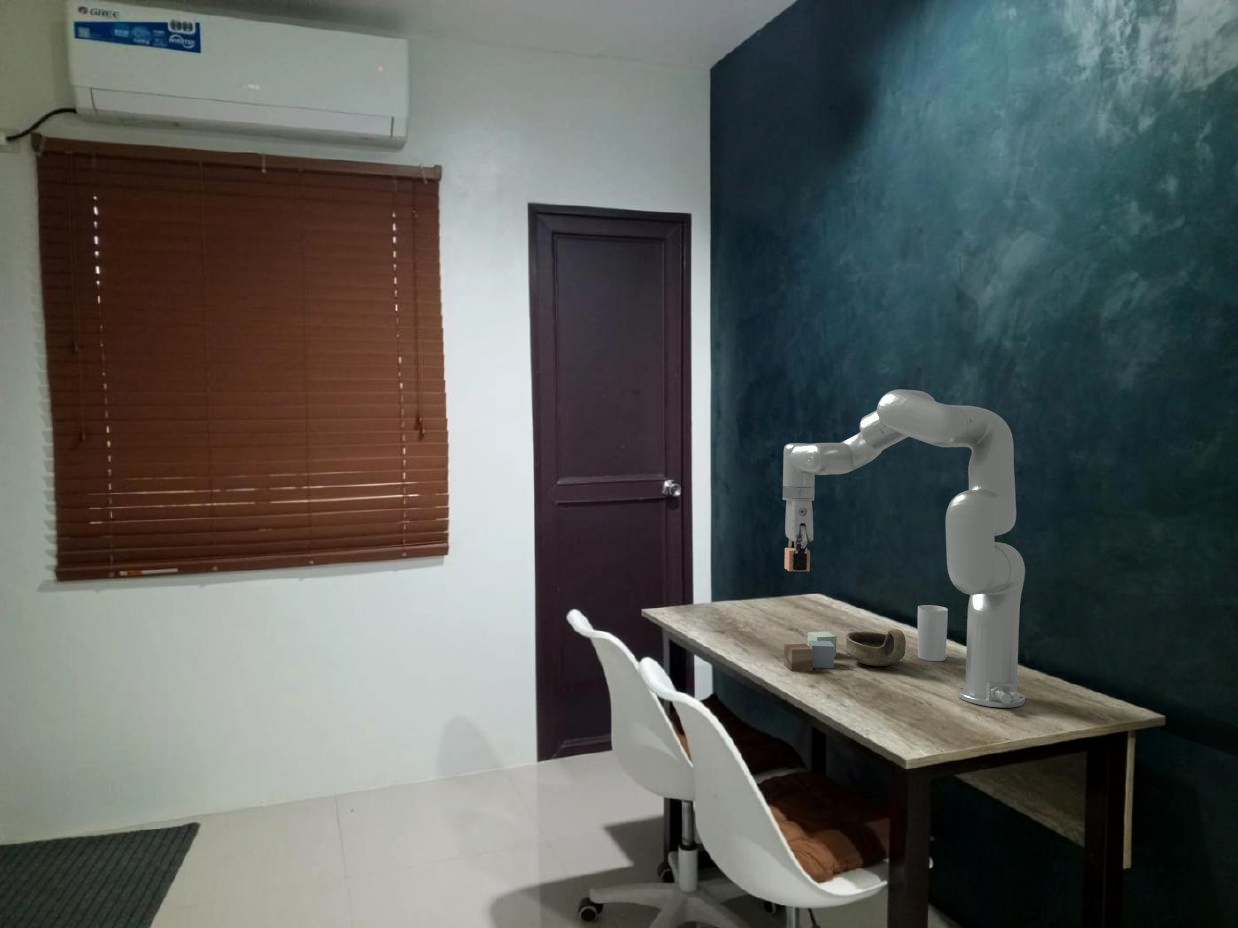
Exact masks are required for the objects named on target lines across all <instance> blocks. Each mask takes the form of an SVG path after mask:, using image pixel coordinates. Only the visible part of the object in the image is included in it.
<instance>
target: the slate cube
mask: <svg viewBox="0 0 1238 928" xmlns="http://www.w3.org/2000/svg"><path fill="white" fill-rule="evenodd" d="M809 647H811V648H812V649H813V668H823V669H825V668H827V669H834V668H835V657H834V645H833V644H832V642H831V641H810V640H809Z"/></svg>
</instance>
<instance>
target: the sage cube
mask: <svg viewBox="0 0 1238 928" xmlns="http://www.w3.org/2000/svg"><path fill="white" fill-rule="evenodd" d="M809 640H810V641H831V642H832V644H833V645H834V658H835V657H837V636H836V635H835V634H833V633H831V632H829V631H809V632H807V645H808V646H809Z"/></svg>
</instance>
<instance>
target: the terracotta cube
mask: <svg viewBox="0 0 1238 928" xmlns="http://www.w3.org/2000/svg"><path fill="white" fill-rule="evenodd" d="M793 554H795V549H794V548H788V547H785V548H784V569H785V570H786V571H788V572H810V569H811V568H810V567H811V566H810V565H811V563H810V562H811V550H809V549H808V548H807V570H793Z"/></svg>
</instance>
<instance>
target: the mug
mask: <svg viewBox="0 0 1238 928" xmlns="http://www.w3.org/2000/svg"><path fill="white" fill-rule="evenodd" d="M948 611H949V608H947V607H944V606H939V605H934V604H932V605H930V604H929V605H928V604H927V605H925V604H924V605H918V606H917V658H918V659H920V660H922V661H923V660H924V661H928V662H943V661H945V660H946V655H947V654H946V652H947V637H948V636H947V635H948V615H949V614H948Z"/></svg>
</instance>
